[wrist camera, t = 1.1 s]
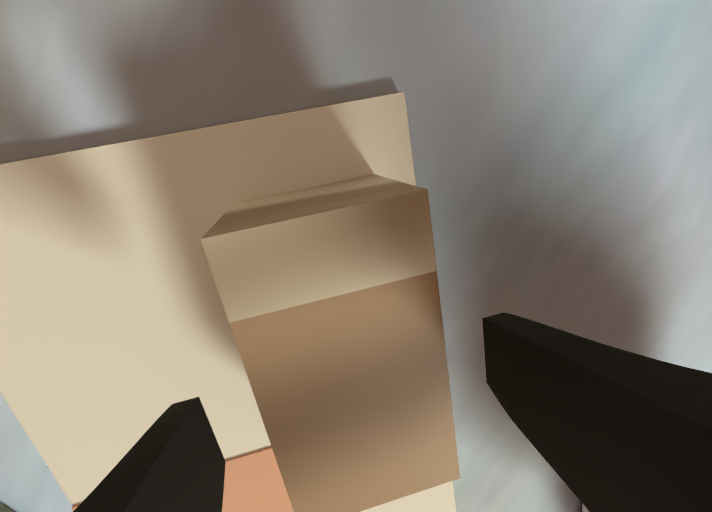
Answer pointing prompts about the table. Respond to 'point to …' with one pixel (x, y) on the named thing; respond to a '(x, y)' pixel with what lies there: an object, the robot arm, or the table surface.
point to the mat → (160, 287)
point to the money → (5, 508)
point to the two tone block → (341, 338)
